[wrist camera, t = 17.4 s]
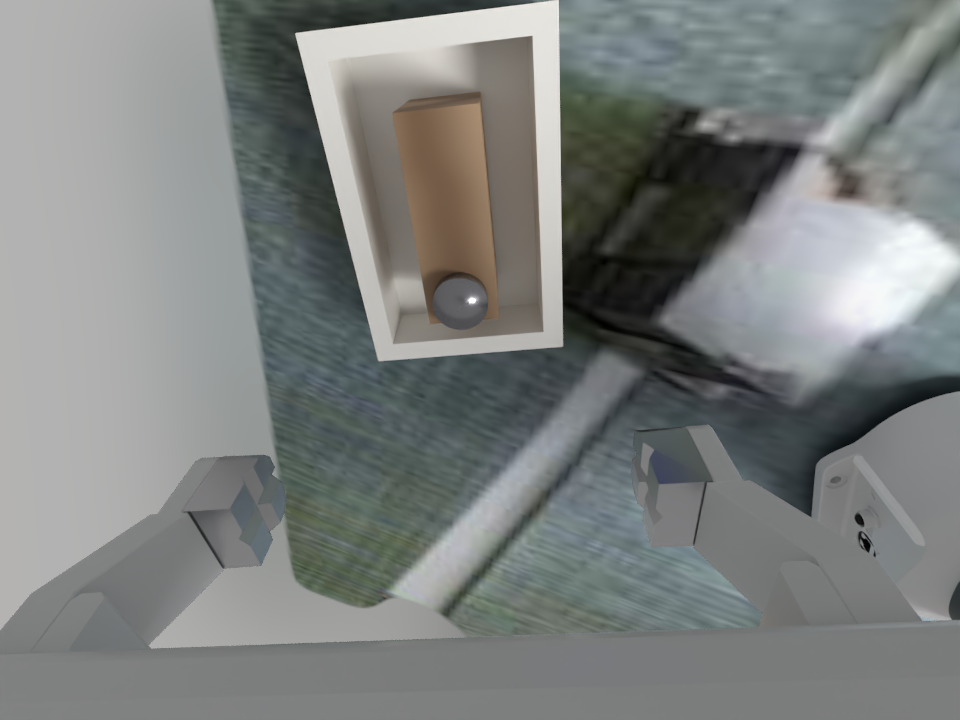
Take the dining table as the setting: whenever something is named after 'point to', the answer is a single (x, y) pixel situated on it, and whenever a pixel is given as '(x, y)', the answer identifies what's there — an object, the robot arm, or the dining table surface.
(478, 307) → the strut
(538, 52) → the bin
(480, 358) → the dining table surface
